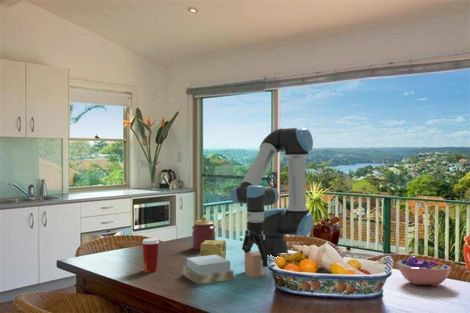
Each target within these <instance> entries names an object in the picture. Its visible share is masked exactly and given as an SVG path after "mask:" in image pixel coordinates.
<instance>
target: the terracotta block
mask: <svg viewBox="0 0 470 313" xmlns="http://www.w3.org/2000/svg"><path fill="white" fill-rule="evenodd" d="M261 258H262V257H261V254H260V252H259V250H258V251H257V250H256V251H250V252H248V253H245V252H244V274H246V275H248V276H249V277H252V278H256V277H262V276H267V275H268V273H267V274H262V275H261Z"/></svg>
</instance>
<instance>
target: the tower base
mask: <svg viewBox="0 0 470 313" xmlns="http://www.w3.org/2000/svg"><path fill="white" fill-rule="evenodd" d="M234 273H235V271H234V270H232V269H230V271H226V272H219V273H211V274H204V275H198V274H197V273H195V272H193V271H192V270H190V269H189V268H187V266H183V272H182V274H183V276H184V277H185V278H187V279H189V280H190V281H192V282H194V283H195V284H197V285H205V284H206V285H207V284H212V282H213V283H218V282H217V281H219V282H224V280H225V281H231V280H234V276H235V275H234Z"/></svg>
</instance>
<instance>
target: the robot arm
mask: <svg viewBox="0 0 470 313" xmlns="http://www.w3.org/2000/svg"><path fill="white" fill-rule="evenodd" d="M313 146H314V140H313V137H312V133H311V132H310V130H309V129H308V128H305V127H293V128H292V127H291V128H290V127H289V128H278V129H275V130H273V131H272V132H270V133H269V134H268V135H267V136H266V137H265V138H263V140H262V141H261V143H260V145H259V151H258V152H257V154H256V157H255V158H254V160H253V161H252V163H251V165H250V166H249V169H248V170H247V172H246V174H245V176H244V178H243V179H242V181H241V183H240V185H239V186H234V187H232V188H231V190H230V192H229V193H230V194H229V195H230V199H231V201H232V202H233V203H235V204H240V205H241V204H246V220H247V221H246V229H245V230H244V231H245V234H244V239H243V242H242V247H241V250H242V251H243V252H244V254H245V253H248V252H252V247H253V245H254V244H255V246H257V248H258V251H259V252H260V254H261V257H262V258H261V275H262V274H267V275H268V259H267V255H269V256H270V254H271V255H273V256H272V257H278V256H277V254H278V253H288V254H289V248H288V244H287V242H286V237H285V236H286V235H289V236H297V237H307V236H308V235H309V234H310V233H311V231H312V230H313V226H314V215H313V214H312V213H311V212H310V209H309V207H307V204H306V201H307V200H306V197H307V196H306V195H307V194H306V191H307V190H306V188H307V187H306V184H307V183H306V180H307V179H306V178H307V177H306V175H307V173H306V158H307V157H308V156H309V152H311V151H312V149H313ZM280 152H284V154H285V156H286V158H287V160H288V161H287V162H288V165H287V166H288V167H287V168H288V171H287V172H288V173H287V175H288V183H287V184H288V185H287V186H288V206H287V207H286V208H285V207H279V208H278V207H277V208H269V209H268V208H267V209H265V207H266V206H271V205H274V204H277V202H278V201H279V199H280V195H279V194H280V193H279V191H278V190H277V189H276V188H275V187H266V188H265V187H264V185H260V182H261V180H262V179H263V177H264V174H265V172H266V171H267V169H268V168H269V166H270V163H271V162H272V160H273V158H274V157H276V156H277V155H278V153H280Z"/></svg>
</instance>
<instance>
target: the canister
mask: <svg viewBox="0 0 470 313" xmlns="http://www.w3.org/2000/svg"><path fill="white" fill-rule="evenodd" d="M214 224H215V221H213V220H211V219H207V217H206V216H201V219H198V220H197V219H196V220H195V221H194V222H193V226H192V227H191V228H192V233H191V234H192V235H191V237H192V238H191V242H192V243H191V247H192V250H194V251H198V252H199V251H200V252H201V250H200V248H201V244H202V243H203V242H204V241H205V240H216V230H215V229H216V228H217V227H216V225H214Z"/></svg>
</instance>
